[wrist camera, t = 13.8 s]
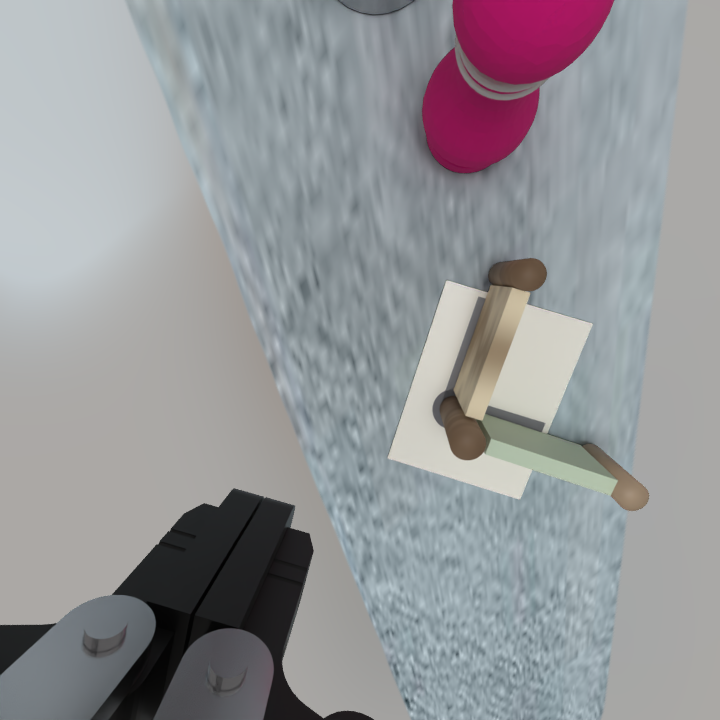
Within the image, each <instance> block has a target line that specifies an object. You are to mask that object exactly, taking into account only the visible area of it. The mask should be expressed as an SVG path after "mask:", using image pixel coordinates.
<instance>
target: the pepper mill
mask: <svg viewBox="0 0 720 720" xmlns="http://www.w3.org/2000/svg"><path fill="white" fill-rule="evenodd" d="M613 2H614V0H453V19H454V27H455V31H456V38H455V47H454V48H453V49H452V50H451V51H450V52H449V53H448V54H447V55H446V56H445V57H444V58H443V59H442V61H441V62H440V63H439V64H438V66H437V67H436V69H435V70H434V72H433V74H432V76H431V78H430V81H429V83H428V86H427V89H426V92H425V95H424V98H423V108H422V116H423V124H424V129H425V132H426V137H427V143H428V146H429V149H430V151H431V153H432V154H433V156H434V158H435V159H436V160H437V161H438V162H439V163H440V164H441V165H442V166H444V167H445V168H447V169H449V170H451V171H454V172H458V173H472V172H477V171H480V170H483V169H485V168H486V167H488V166H490V165H491V164H493V163H496V162H498V161H500V160H502V159H503V158H505V157H507V156H508V155H509V154H510V153H511V152H513V151H514V150H515V149H516V148H517V147H518V146H519V144H520V143H521V142H522V140H523V139H524V137H525V136H526V134H527V132H528V131H529V129H530V127H531V125H532V123H533V121H534V118H535V115H536V112H537V107H538V101H539V87H540V86H541V85H542V84H543V83H544V82H545V81H546V80H547V79H548V78H549V77H551V76H553V75H555V74H557V73H559V72H561V71H562V70H564V69H565V68H566V67H567V66H569V65H570V64H571V63H573V62H574V61H575V60H576V59H577V58H578V57H579V56H580V55H581V54H582V53H583V52H584V51H585V50H586V48H587V47H588V46H589V45H590V44H591V43H592V41H593V40H594V38H595V37H596V35H597V34H598V32H599V31H600V29H601V28H602V26H603V24H604V22H605V20H606V18H607V16H608V15H609V13H610V10H611V7H612V5H613Z"/></svg>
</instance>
